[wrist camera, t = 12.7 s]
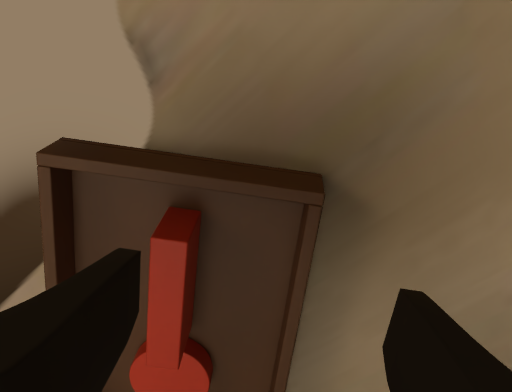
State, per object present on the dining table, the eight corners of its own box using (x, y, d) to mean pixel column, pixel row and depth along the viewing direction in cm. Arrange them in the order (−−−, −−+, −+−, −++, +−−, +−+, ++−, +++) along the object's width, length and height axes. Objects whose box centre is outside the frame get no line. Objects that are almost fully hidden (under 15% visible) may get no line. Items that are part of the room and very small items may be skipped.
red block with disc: (140, 201, 22) (116, 232, 19) (230, 214, 22) (221, 247, 19) (135, 388, 26) (115, 436, 23) (209, 399, 26) (199, 448, 23)
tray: (270, 435, 28) (268, 472, 25) (74, 405, 28) (55, 440, 26) (321, 173, 21) (325, 193, 19) (62, 136, 21) (35, 152, 19)
